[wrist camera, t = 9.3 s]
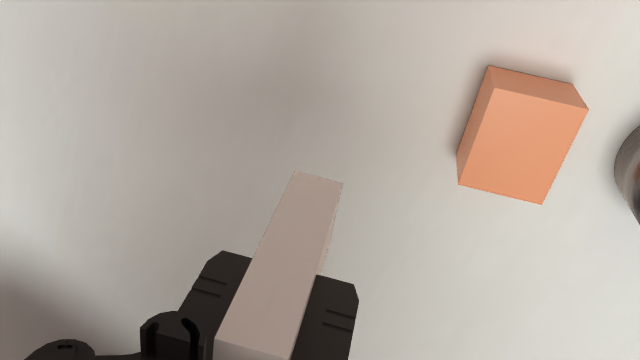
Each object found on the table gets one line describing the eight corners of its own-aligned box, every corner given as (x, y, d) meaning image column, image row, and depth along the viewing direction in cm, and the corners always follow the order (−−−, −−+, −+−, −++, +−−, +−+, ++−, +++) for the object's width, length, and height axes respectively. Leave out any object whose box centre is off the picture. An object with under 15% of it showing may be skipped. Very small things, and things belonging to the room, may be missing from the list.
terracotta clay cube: (456, 155, 27) (457, 184, 25) (488, 65, 24) (494, 87, 22) (531, 173, 27) (541, 204, 24) (572, 84, 24) (589, 109, 22)
